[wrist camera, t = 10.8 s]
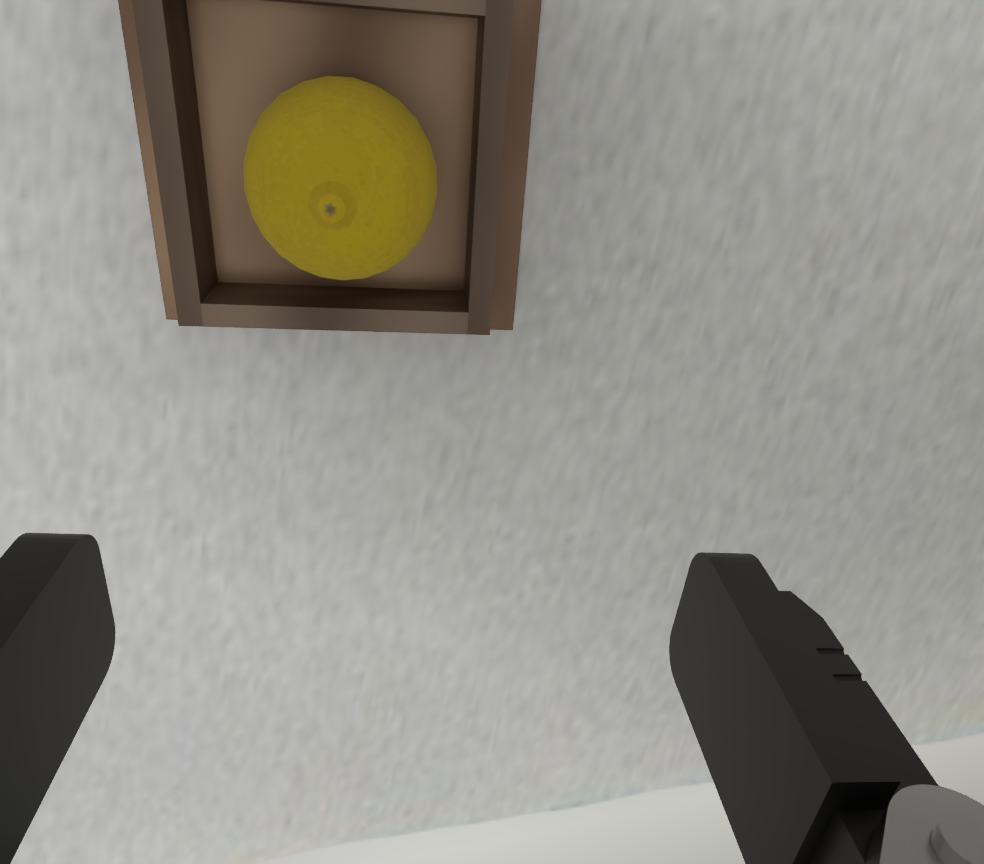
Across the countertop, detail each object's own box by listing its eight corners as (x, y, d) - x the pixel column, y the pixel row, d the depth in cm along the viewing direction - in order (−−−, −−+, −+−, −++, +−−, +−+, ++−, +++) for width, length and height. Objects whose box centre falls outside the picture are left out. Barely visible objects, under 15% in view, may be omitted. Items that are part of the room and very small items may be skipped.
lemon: (261, 65, 23) (199, 78, 16) (435, 76, 24) (447, 93, 17) (275, 238, 26) (227, 313, 19) (431, 244, 26) (440, 318, 19)
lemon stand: (539, -29, 23) (558, -40, 20) (509, 321, 29) (521, 354, 26) (119, -68, 22) (71, -86, 19) (174, 310, 27) (144, 344, 24)
